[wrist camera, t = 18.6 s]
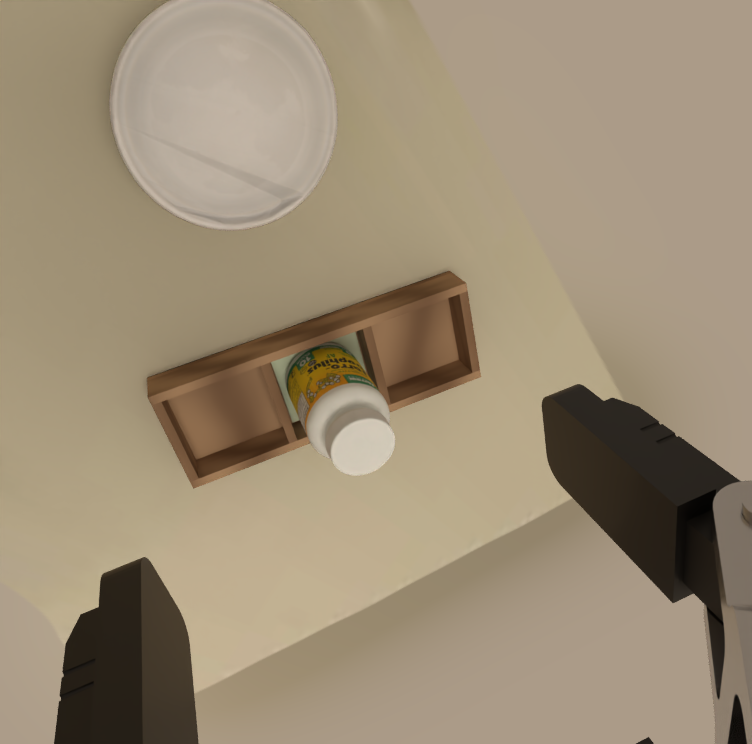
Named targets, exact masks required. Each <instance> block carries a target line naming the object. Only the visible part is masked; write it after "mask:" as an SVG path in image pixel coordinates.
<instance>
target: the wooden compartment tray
mask: <svg viewBox="0 0 752 744" xmlns="http://www.w3.org/2000/svg"><path fill="white" fill-rule="evenodd" d="M323 343H335V344H339V345H341V346H343V347H345V348H346V349H347V350H349V351H350V352H351V353H352V354H353V355H354V357H355V358H356V359H357V361H358V362H359V363H360V365H361V366H362V368H363V369H364V370H365V372H366V373H367V375H368V376H369V377H370V379H371V380H372V381H373V383H374V384H375V386H376V387H377V389H378V390H379V391H380V393H381V394H382V396H383V397H384V399H385V400H386V402H387V405H388V407H389V412H392V411H394V410H397V409H399V408H402V407H405V406H407V405H410V404H412V403H415V402H417V401H420V400H423V399H425V398H428V397H430V396H433V395H435V394H438V393H441V392H443V391H446V390H448V389H451V388H453V387H456V386H459V385H461V384H464V383H466V382H469V381H471V380H474V379H477V378H479V377H481V374H480V368H479V362H478V355H477V349H476V342H475V336H474V330H473V323H472V317H471V311H470V304H469V298H468V292H467V285H466V283H465V282H464V281H462V280H461V279H460V278H458V277H457V276H456V275H454V274H453V273H452V272H450V271H448V272H445V273H442V274H439V275H437V276H434V277H431V278H428V279H425V280H422V281H420V282H417V283H414V284H411V285H408V286H405V287H403V288H400V289H397V290H394V291H391V292H388V293H386V294H383V295H380V296H377V297H374V298H372V299H369V300H366V301H363V302H360V303H357V304H355V305H352V306H349V307H346V308H343V309H340V310H338V311H335V312H332V313H329V314H326V315H324V316H321V317H318V318H315V319H312V320H309V321H307V322H304V323H301V324H298V325H295V326H292V327H290V328H287V329H284V330H281V331H278V332H275V333H273V334H270V335H267V336H264V337H261V338H259V339H256V340H253V341H250V342H247V343H244V344H242V345H239V346H236V347H233V348H230V349H227V350H225V351H222V352H219V353H216V354H213V355H210V356H208V357H205V358H202V359H199V360H196V361H194V362H191V363H188V364H185V365H182V366H179V367H177V368H174V369H171V370H168V371H165V372H162V373H160V374H157V375H154V376H151V377H148V378H147V385H148V399H149V401H150V403H151V405H152V407H153V409H154V411H155V413H156V415H157V417H158V419H159V421H160V423H161V425H162V427H163V429H164V431H165V433H166V435H167V437H168V439H169V441H170V443H171V445H172V447H173V449H174V451H175V453H176V455H177V457H178V459H179V461H180V463H181V465H182V467H183V469H184V471H185V473H186V475H187V477H188V479H189V481H190V483H191V485H192V487H193V489H194V488H196V487H199V486H201V485H204V484H206V483H209V482H212V481H214V480H217V479H219V478H222V477H224V476H227V475H230V474H232V473H235V472H237V471H240V470H242V469H245V468H248V467H250V466H253V465H255V464H258V463H260V462H263V461H266V460H268V459H271V458H273V457H276V456H278V455H281V454H284V453H286V452H289V451H291V450H294V449H296V448H299V447H302V446H304V445H307V444H309V443H310V441H309V439H308V437H307V435H306V432H305V430H304V428H303V426H302V424H301V421H300V419H299V417H298V415H297V412H296V410H295V408H294V406H293V404H292V402H291V399H290V397H289V394H288V392H287V388H286V373H287V370H288V367H289V365H290V364H291V362H292V361H293V359H294V358H295V357H296V356H297V355H299V354H300V353H301V352H302V351H304V350H306V349H309V348H312V347H314V346H317V345H320V344H323Z"/></svg>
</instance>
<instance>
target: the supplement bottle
mask: <svg viewBox="0 0 752 744" xmlns="http://www.w3.org/2000/svg"><path fill="white" fill-rule="evenodd" d="M286 388H287V392H288V394H289V397H290V399H291V402H292V404H293V406H294V408H295V410H296V412H297V415H298V417H299V419H300V421H301V424H302V426H303V428H304V430H305V432H306V435H307V437H308V439H309V441H310V443H311V444H312V446H313V447H314V449H315V450H316V451H317V452H319V453H320V454H321V455H323V456H324V457H326V458H329V459H331V460H332V462H333V464H334V465H335V467H336V468H337V469H338V470H339V471H341V472H343V473H345V474H348V475H354V476H359V475H365V474H369V473H371V472H374V471H375V470H377V469H379V468H380V467H381V466H382V465H384V464H385V463H386V462H387V461H388V459H389V458H390V456H391V455H392V452H393V450H394V446H395V435H394V432H393V430H392V428H391V426H390V425H389V423H390V412H389V407H388V405H387V402H386V400H385V399H384V397H383V396H382V394H381V393H380V391H379V390H378V389H377V387H376V386H375V384H374V383H373V381H372V380H371V379H370V377H369V376H368V375H367V373H366V372H365V370H364V369H363V368H362V366H361V365H360V363H359V362H358V361H357V359H356V358H355V357H354V355H353V354H352V353H351V352H350V351H349V350H347V349H346V348H345V347H343V346H341V345H339V344H335V343H323V344H320V345H317V346H314V347H312V348H309V349H306V350H304V351H302V352H301V353H300V354H299V355H297V356H296V357H295V358H294V359H293V361H292V362H291V364H290V365H289V367H288V370H287V373H286Z"/></svg>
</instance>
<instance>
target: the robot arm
mask: <svg viewBox="0 0 752 744" xmlns="http://www.w3.org/2000/svg"><path fill="white" fill-rule="evenodd" d="M542 412H543V422H544V432H545V443H546V453H547V459H548V463H549V466H550V468H551V470H552V473H553V474H554V476H555V478H556V479H557V481H558V482H559V484H560V485H561V486H562V487H563V488H564V489H565V490H566V491H567V492H568V493H569V494H570V495H571V497H572V498H573V499H574V500H575V501H576V502H577V503H578V504H579V505H580V506H581V507H582V508H583V509H584V510H585V511H586V512H587V513H588V514H589V515H590V517H591V518H592V519H593V520H594V521H595V522H596V523H597V524H598V525H599V526H600V527H601V528H602V529H603V530H604V531H605V532H606V533H607V534H608V535H609V536H610V538H612V540H613V541H614V542H615V543H616V544H617V545H618V546H619V547H620V548H621V549H622V550H623V551H624V552H625V553H626V554H627V555H628V556H629V558H630V559H631V560H633V562H634V563H635V564H636V565H637V566H638V567H639V568H640V569H641V570H642V571H643V572H644V573H645V574H646V575H647V576H648V578H649V579H650V580H652V582H653V583H654V584H655V585H656V586H657V587H658V588H659V589H660V590H661V591H662V592H663V593H664V594H665V595H666V596H667V598H668V599H669V600H670V601H671V602H672V603H675V602H677V601H679V600H681V599H683V598H685V597H687V596H689V595H691V594H693V593H694V594H695V595H696V596H697V597H698V598H699V599H700V600H701V601H702V602H703V603H704V622H705V631H706V639H707V649H708V657H709V666H710V676H711V685H712V694H713V704H714V714H715V744H752V481H739V480H738V479H737V478H735V477H734V476H733V475H731V474H730V473H729V472H727V471H725V470H724V469H723V468H722V467H720V466H719V465H717V464H716V463H715V462H714V461H712V460H711V459H709V458H708V457H707V456H705V455H704V454H703V453H701V452H700V451H698V450H697V449H696V448H694V447H693V446H692V445H690V444H689V443H688V442H686V441H685V440H684V439H682V438H681V437H679V436H678V437H676V435H675V433H674V432H672V431H671V430H670V429H668V428H667V427H666V426H664V425H663V424H661V425H660V424H659V421H657V420H656V419H655V418H653V417H652V416H651V415H649V414H648V413H647V412H645V411H644V410H643V409H641V408H640V407H638V406H635V405H632V404H629V403H626V402H624V401H621V400H618V399H615V398H610V399H608V400H606V401H603V400H601V399H600V398H599V397H598V396H596V395H595V394H594V393H592V392H591V391H590V390H589V389H587V388H586V387H584V386H583V385H580V384H577V385H574V386H572V387H569V388H567V389H564V390H562V391H559V392H557V393H554V394H552V395H549V396H547V397H545V398H544V399H543V401H542ZM63 674H64V677H63V678H62V681H61V689H60V697H61V701H59V707H58V715H57V725H56V732H55V741H54V744H198V733H197V721H196V710H195V700H194V688H193V676H192V665H191V654H190V643H189V637H188V632H187V629H186V625H185V622H184V620H183V617H182V615H181V612H180V610H179V609H178V607H177V605H176V604H175V602H174V600H173V599H172V597H171V595H170V594H169V592H168V590H167V588H166V587H165V585H164V583H163V582H162V580H161V578H160V577H159V575H158V573H157V572H156V570H155V568H154V567H153V565H152V564H151V562H150V561H149V560H148V559H147V558H146V557H143V558H141V559H138V560H136V561H133V562H131V563H128V564H126V565H123V566H121V567H118V568H116V569H113V570H111V571H108V572H106V573H104V574H103V575H102V577H101V581H100V596H99V607H98V608H95V609H93V610H91V611H88V612H86V613H83V614H81V615H80V617H79V619H78V621H77V623H76V625H75V627H74V629H73V631H72V633H71V635H70V637H69V639H68V640H67V642H66V646H65V655H64V663H63ZM636 744H653V742H652V741H651V739H650V738H649V737H648V738H646V739H644V740H642V741H640V742H638V743H636Z"/></svg>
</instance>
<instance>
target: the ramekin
mask: <svg viewBox="0 0 752 744" xmlns="http://www.w3.org/2000/svg"><path fill="white" fill-rule="evenodd" d="M109 110H110V120H111V126H112V131H113V135H114V138H115V142H116V145H117V148H118V150H119V153H120V155H121V157H122V159H123V161H124V163H125V165H126V167H127V169H128V170H129V172H130V173H131V175H132V176H133V178H134V179H135V181H136V182H137V183H138V185H139V186H140V187H141V188H142V189H143V190H144V191H145V192H146V193H147V194H148V196H149V197H150V198H152V199H153V200H154V201H155V202H156V203H157V204H158V205H160V206H161V207H162V208H164V209H165V210H167V211H168V212H170V213H171V214H173V215H175V216H177V217H179V218H181V219H183V220H185V221H187V222H190V223H192V224H195V225H198V226H201V227H205V228H210V229H215V230H225V231H234V230H246V229H251V228H255V227H260V226H263V225H266V224H269V223H271V222H274V221H276V220H278V219H280V218H282V217H284V216H285V215H287V214H288V213H290V212H291V211H293V210H294V209H295V208H297V207H298V206H299V205H300V204H301V203H302V202H303V201H304V200H305V199H306V198H307V197H308V196H309V195H310V194H311V192H312V191H313V190H314V189H315V187H316V186H317V184H318V183H319V181H320V180H321V178H322V176H323V175H324V173H325V171H326V169H327V167H328V164H329V161H330V159H331V156H332V153H333V149H334V145H335V141H336V135H337V116H338V114H337V101H336V94H335V89H334V84H333V80H332V77H331V74H330V71H329V68H328V66H327V64H326V61H325V59H324V57H323V55H322V53H321V51H320V50H319V48H318V46H317V45H316V43H315V42H314V40H313V39H312V37H311V36H310V34H309V33H308V32H307V30H305V29H304V28H303V27H302V26H301V25H300V24H299V23H298V22H297V21H296V20H295V19H294V18H293V17H291V16H290V15H289V14H288V13H286V12H285V11H284V10H282V9H281V8H279V7H278V6H276V5H274V4H273V3H271V2H269V1H267V0H170V1H168V2H166V3H164V4H162V5H161V6H159V7H158V8H156V9H155V10H154V11H152V12H151V13H150V14H149V15H147V16H146V17H145V18H144V19H143V20H142V21H141V22H140V23H139V24H138V25H137V27H136V28H135V29H134V30H133V32H132V33H131V35H130V36H129V38H128V39H127V41H126V42H125V44H124V46H123V48H122V50H121V52H120V54H119V57H118V59H117V62H116V65H115V69H114V72H113V77H112V82H111V88H110V98H109Z"/></svg>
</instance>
